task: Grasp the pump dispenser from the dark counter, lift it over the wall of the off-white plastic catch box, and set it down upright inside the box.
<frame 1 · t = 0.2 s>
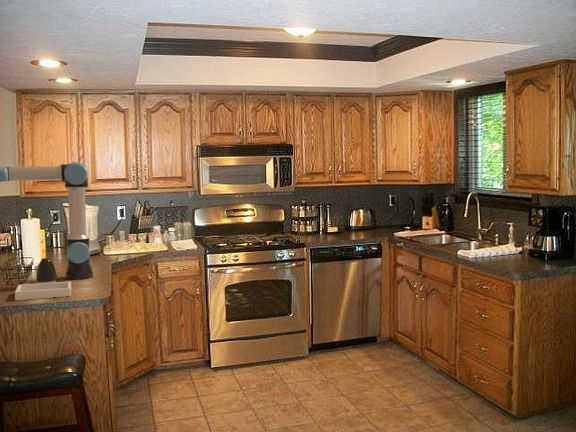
catch box: (44, 294, 291), on the countertop
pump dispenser: (46, 287, 310), on the countertop
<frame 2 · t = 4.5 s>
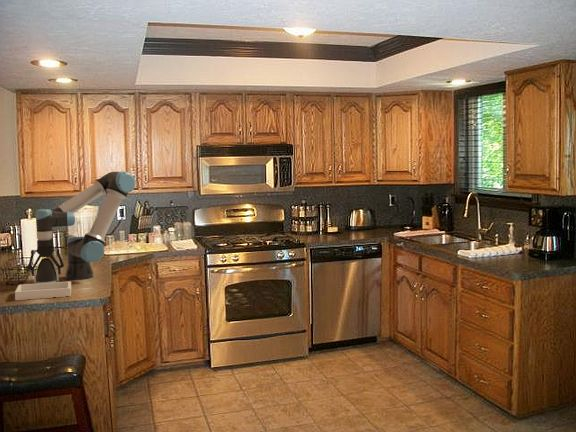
hand: (46, 281, 310), 3 cm above the countertop, fingers closed on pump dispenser, 10 cm apart
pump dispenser: (46, 287, 310), on the countertop, touching gripper
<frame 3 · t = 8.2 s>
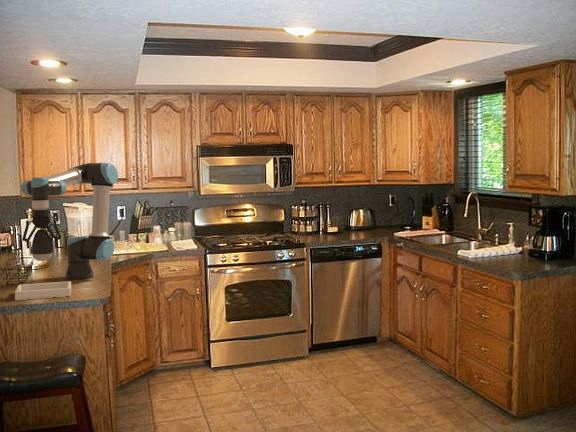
hand: (42, 254, 289), 20 cm above the countertop, fingers closed on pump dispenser, 10 cm apart
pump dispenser: (42, 260, 290), point 17 cm above the countertop, touching gripper
when the fingers open (5 cm above the countertop, at t = 12.0 s): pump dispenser drops 2 cm, resting in catch box.
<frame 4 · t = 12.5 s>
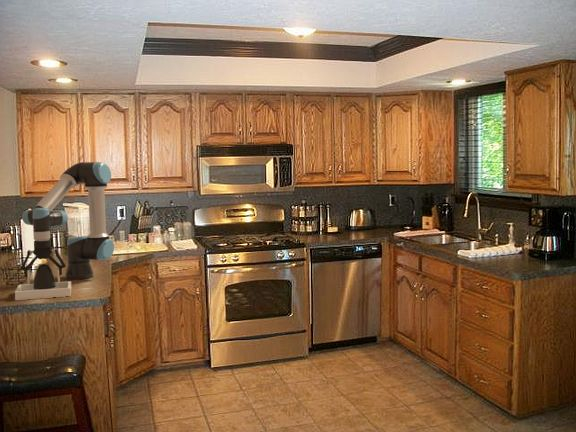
hand: (44, 283, 291), 6 cm above the countertop, fingers open, 13 cm apart
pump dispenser: (44, 294, 291), resting in catch box
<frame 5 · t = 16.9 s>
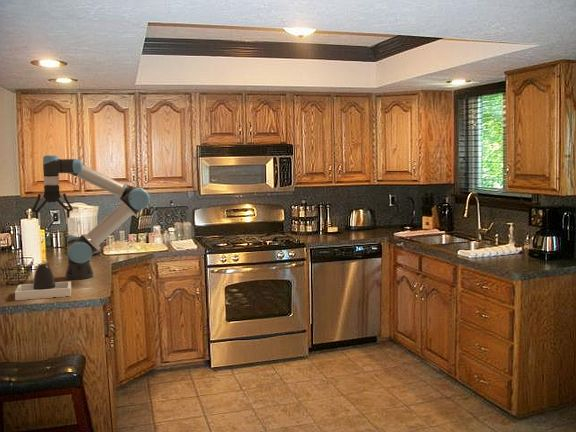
hand: (53, 224, 316), 32 cm above the countertop, fingers open, 13 cm apart
nothing on the countertop moved.
at the end: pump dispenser inside the target area (0.1 cm from its centre), resting in catch box; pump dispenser tilted 0°; the gripper is holding nothing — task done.
